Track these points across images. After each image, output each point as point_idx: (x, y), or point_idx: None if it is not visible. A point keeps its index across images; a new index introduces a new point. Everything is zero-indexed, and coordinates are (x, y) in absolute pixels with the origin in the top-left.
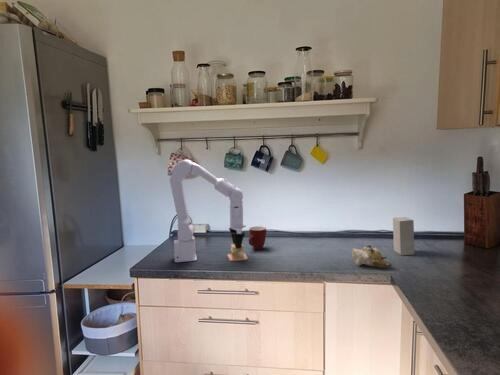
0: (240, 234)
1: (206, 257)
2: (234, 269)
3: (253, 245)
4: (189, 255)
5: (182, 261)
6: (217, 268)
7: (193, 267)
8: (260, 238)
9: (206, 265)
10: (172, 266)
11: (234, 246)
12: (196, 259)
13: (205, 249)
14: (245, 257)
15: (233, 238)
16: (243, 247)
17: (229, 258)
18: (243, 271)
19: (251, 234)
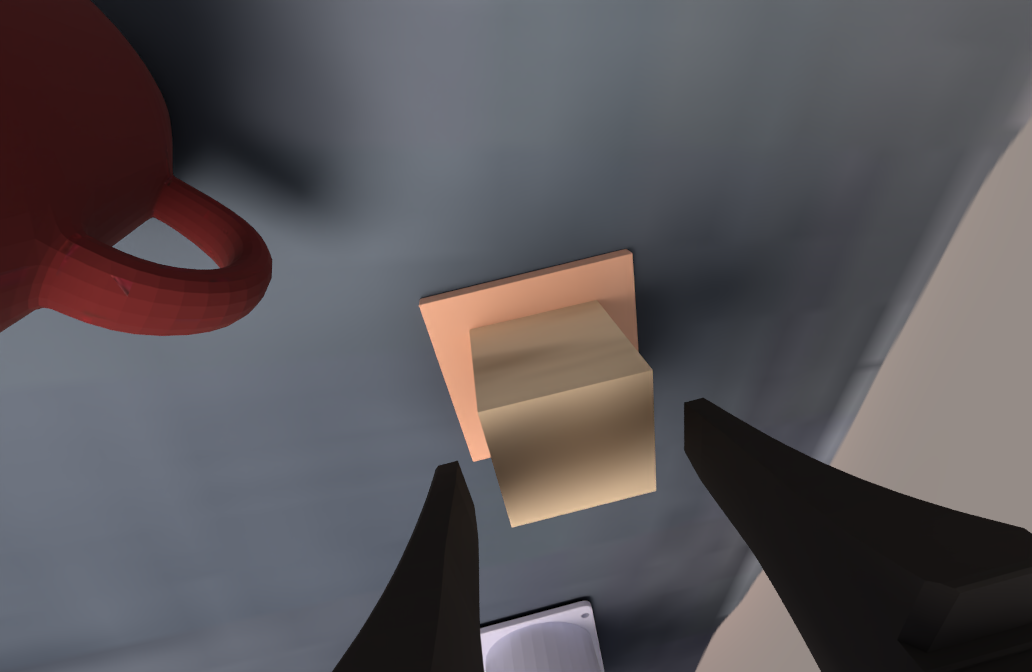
0: (1027, 617)
1: (514, 569)
2: (847, 349)
3: (217, 201)
4: (598, 667)
5: (599, 648)
6: None
7: (706, 578)
8: (21, 11)
9: (691, 531)
10: (659, 654)
11: (621, 477)
12: (586, 607)
13: (299, 621)
14: (595, 283)
15: (473, 579)
16: (647, 366)
17: None
18: (928, 272)
19: (4, 319)
